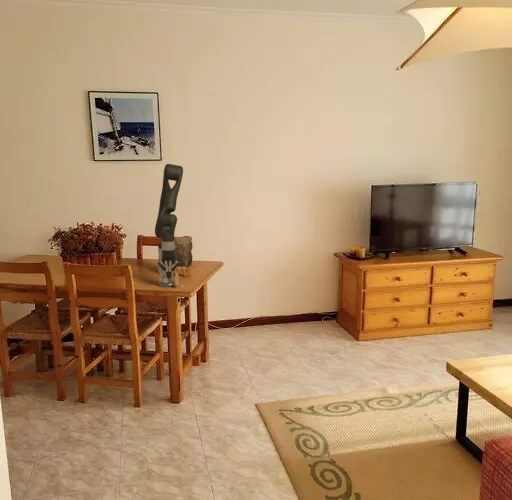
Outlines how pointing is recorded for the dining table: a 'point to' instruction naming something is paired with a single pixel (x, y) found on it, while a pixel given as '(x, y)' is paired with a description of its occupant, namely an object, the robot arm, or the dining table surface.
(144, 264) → the dining table surface
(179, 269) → the lion figurine
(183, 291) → the dining table surface
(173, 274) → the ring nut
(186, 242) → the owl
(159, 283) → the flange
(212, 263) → the dining table surface
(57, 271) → the dining table surface
